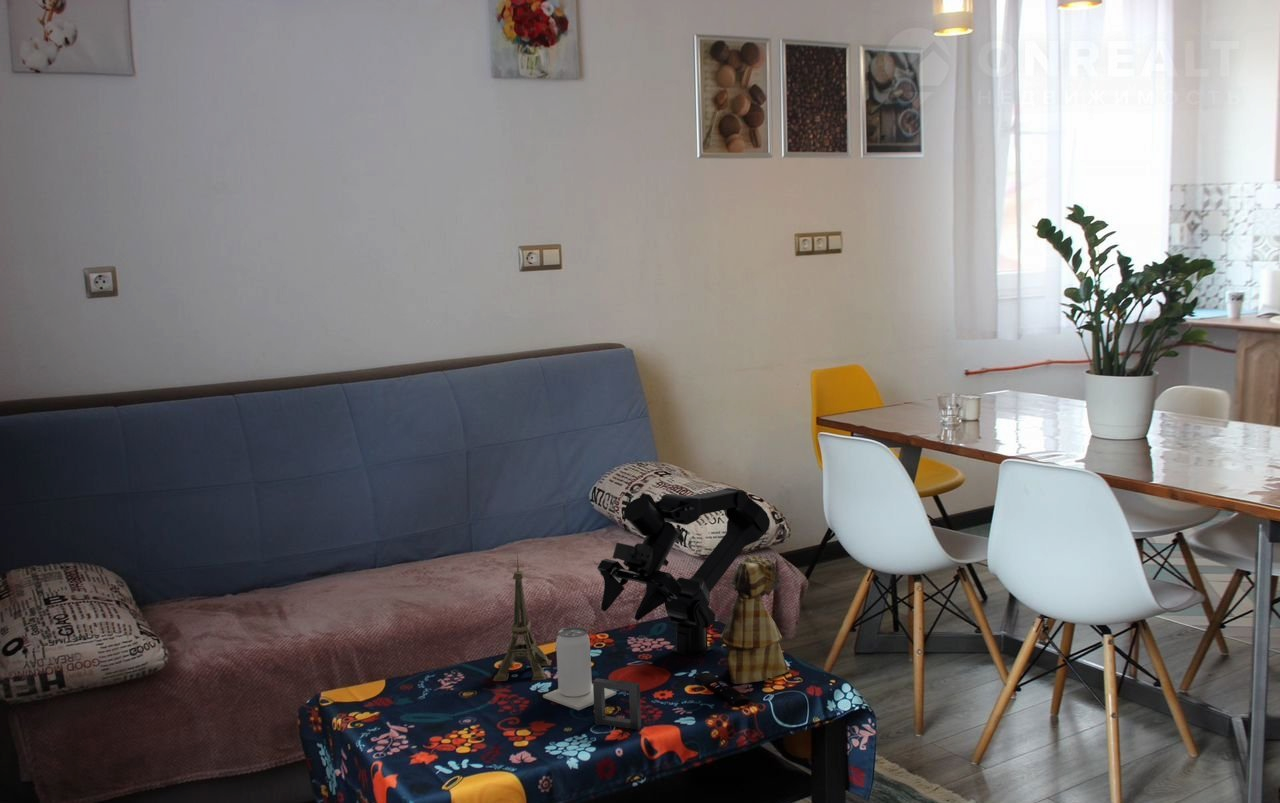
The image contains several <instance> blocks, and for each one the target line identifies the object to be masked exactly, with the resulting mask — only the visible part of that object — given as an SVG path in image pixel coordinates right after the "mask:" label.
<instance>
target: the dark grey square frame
mask: <svg viewBox="0 0 1280 803" xmlns="http://www.w3.org/2000/svg"><path fill="white" fill-rule="evenodd" d="M592 684H593V693H594V704H593V712H594V724H595V725H602V726H609V727H616V728H617V727H618V728H624V729H625V728H626V729H632V730H639V729H640V728H642V708H641V707H642V706H641V705H642V704H641V703H642V702H641V683H639V682H632V681H631V682H629V681H622V680H615V679H605V678H599V677H597V678H595V679H594V680H593V681H592ZM604 688H607V689H610V690H619V691H626V692H628V698H629V700H628V701H629V719H628V718H623V717H617V716H616V717H614V716H607V715H606V699H605V691H604Z"/></svg>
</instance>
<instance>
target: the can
mask: <svg viewBox="0 0 1280 803" xmlns="http://www.w3.org/2000/svg"><path fill="white" fill-rule="evenodd" d="M557 634H558V635H557V638H556V640H555V642H556V645H555V647H556V666H557V667H556V668H557V669H556V670H557V671H556V672H557V686H558V687H557V689H559V692H560V694H561V695H563V696H566V697H581V696H585V695H587V694H589V693H590V691H591V690H592V684H593V681H592V662H591V658H592V657H591V640H590V637H589V635H588V630H587V629H586V628H584V627H581V626H579V627H578V626H572V627H571V626H570V627H564V628H561V629H560V630H558V631H557Z"/></svg>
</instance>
